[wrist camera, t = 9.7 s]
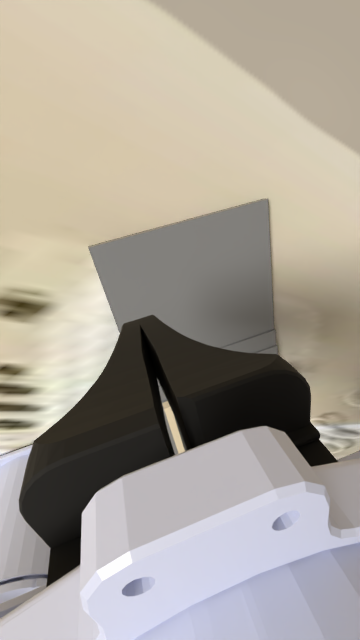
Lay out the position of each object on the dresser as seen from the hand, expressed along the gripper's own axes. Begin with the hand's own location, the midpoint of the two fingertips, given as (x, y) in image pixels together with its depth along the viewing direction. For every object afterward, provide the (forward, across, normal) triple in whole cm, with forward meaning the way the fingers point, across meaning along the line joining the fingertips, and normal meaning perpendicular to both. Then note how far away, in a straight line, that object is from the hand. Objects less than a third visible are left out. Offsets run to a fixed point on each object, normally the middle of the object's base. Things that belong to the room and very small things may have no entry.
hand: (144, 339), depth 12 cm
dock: (+8, -4, +9) cm, 13 cm away
